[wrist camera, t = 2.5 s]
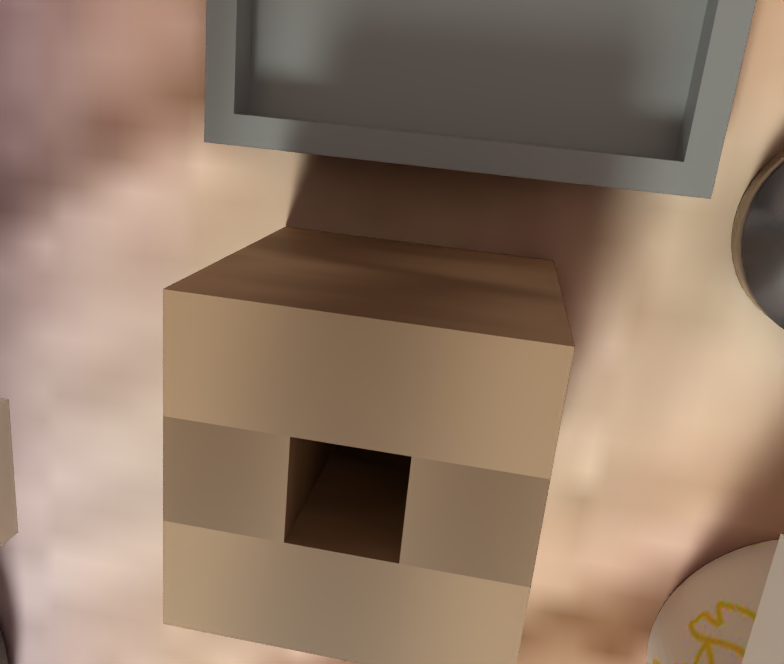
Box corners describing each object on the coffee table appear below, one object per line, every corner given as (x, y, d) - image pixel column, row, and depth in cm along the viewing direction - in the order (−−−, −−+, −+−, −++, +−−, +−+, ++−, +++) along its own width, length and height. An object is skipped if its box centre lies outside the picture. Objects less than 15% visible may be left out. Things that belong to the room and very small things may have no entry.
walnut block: (272, 464, 21) (163, 623, 15) (285, 227, 19) (162, 289, 13) (512, 504, 20) (511, 694, 14) (553, 260, 18) (574, 346, 12)
